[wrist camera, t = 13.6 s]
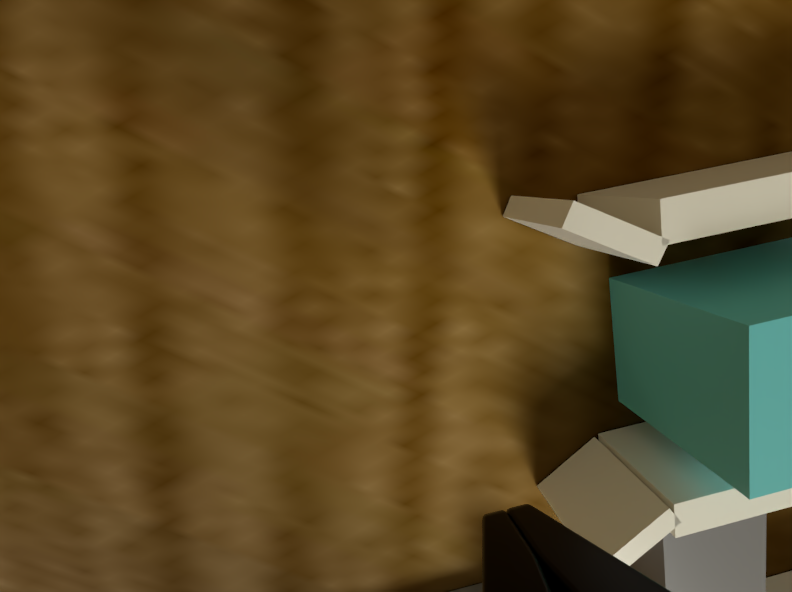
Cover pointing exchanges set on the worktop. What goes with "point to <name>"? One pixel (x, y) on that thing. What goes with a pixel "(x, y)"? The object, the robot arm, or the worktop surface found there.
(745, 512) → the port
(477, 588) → the grey rectangular frame stand
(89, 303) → the worktop surface
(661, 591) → the robot arm
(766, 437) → the plug
